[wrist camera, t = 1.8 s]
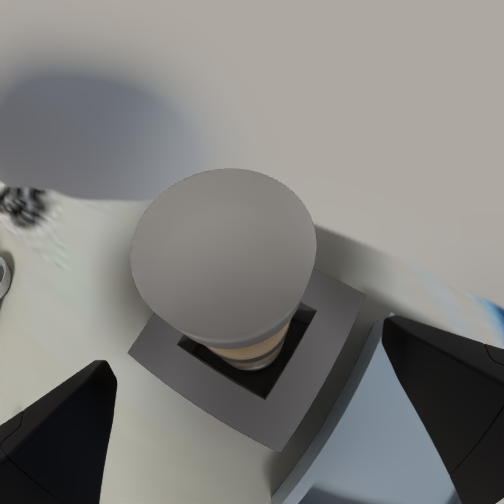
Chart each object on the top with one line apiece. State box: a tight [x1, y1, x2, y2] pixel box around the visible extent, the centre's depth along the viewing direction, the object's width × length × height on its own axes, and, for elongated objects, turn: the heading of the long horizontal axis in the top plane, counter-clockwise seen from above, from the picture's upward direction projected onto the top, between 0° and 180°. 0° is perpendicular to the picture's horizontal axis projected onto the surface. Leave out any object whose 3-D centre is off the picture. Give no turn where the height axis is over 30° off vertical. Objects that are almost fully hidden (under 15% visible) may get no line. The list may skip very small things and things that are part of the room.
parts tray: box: [271, 312, 462, 504], centre depth 11 cm, size 16×14×3 cm
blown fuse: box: [130, 169, 317, 371], centre depth 12 cm, size 4×4×13 cm
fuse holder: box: [128, 268, 366, 453], centre depth 16 cm, size 10×10×4 cm
